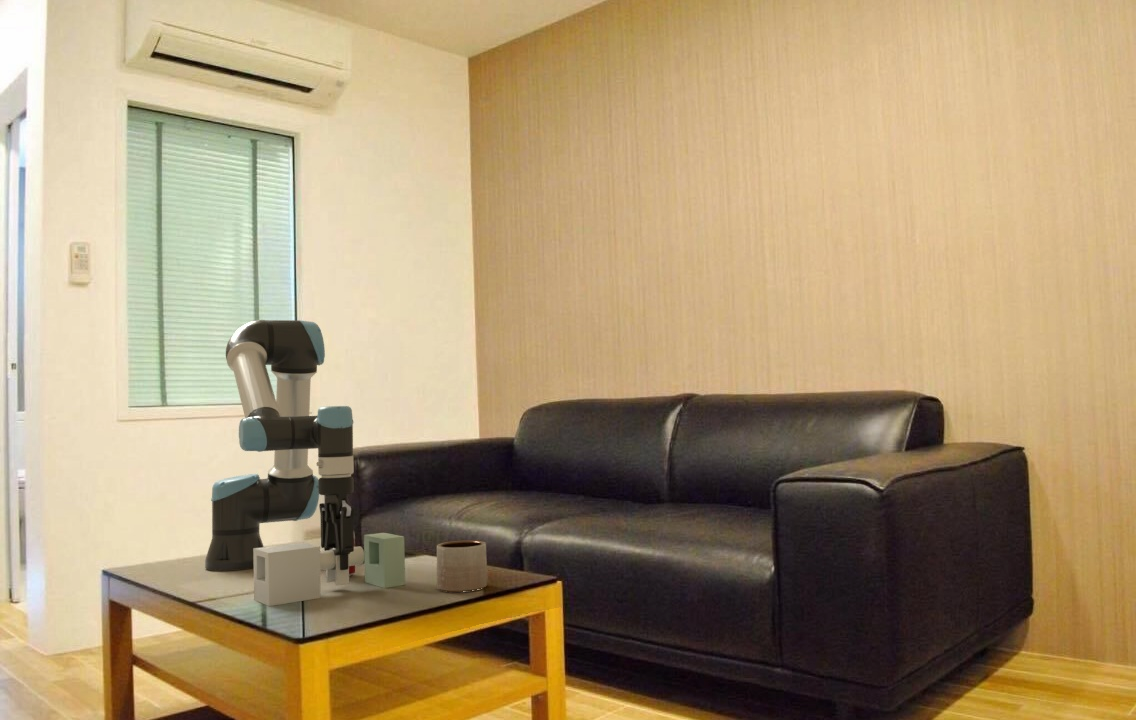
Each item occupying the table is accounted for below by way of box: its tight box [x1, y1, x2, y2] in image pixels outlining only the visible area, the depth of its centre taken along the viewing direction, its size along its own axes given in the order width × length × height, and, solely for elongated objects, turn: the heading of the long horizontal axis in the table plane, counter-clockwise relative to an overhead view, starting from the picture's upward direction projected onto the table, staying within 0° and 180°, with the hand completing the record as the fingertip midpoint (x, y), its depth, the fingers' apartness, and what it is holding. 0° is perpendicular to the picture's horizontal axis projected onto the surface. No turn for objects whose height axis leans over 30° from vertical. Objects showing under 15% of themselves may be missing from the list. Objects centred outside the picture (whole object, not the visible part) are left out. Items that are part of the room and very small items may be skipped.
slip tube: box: [320, 546, 365, 571], centre depth 192 cm, size 5×20×5 cm, turn 128°
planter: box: [436, 540, 488, 593], centre depth 193 cm, size 11×11×10 cm
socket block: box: [363, 532, 406, 589], centre depth 201 cm, size 10×5×11 cm, turn 38°
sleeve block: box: [253, 542, 322, 607], centre depth 187 cm, size 9×11×11 cm
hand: (337, 582), depth 194 cm, fingers closed on slip tube, 5 cm apart
